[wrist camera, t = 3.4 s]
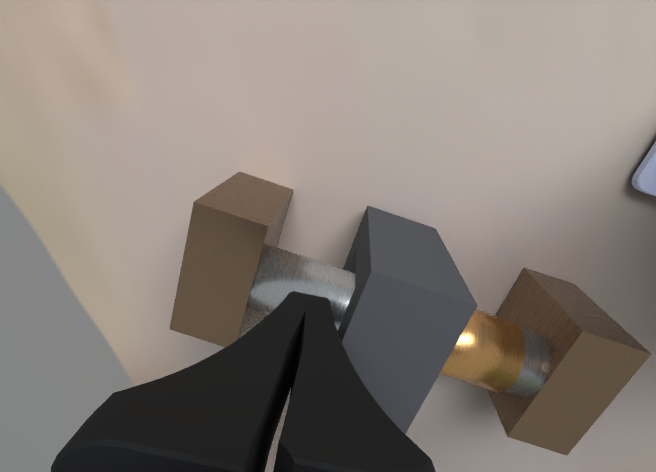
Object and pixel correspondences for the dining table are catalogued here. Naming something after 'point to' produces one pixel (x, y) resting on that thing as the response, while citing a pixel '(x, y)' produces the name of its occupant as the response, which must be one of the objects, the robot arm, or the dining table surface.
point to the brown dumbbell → (470, 350)
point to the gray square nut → (402, 311)
